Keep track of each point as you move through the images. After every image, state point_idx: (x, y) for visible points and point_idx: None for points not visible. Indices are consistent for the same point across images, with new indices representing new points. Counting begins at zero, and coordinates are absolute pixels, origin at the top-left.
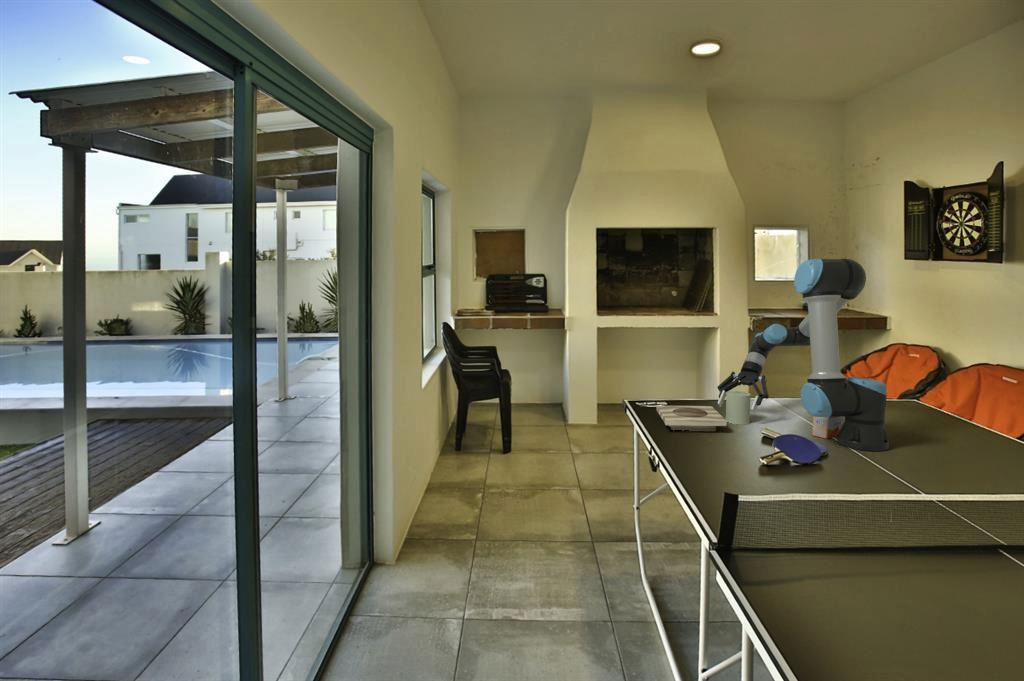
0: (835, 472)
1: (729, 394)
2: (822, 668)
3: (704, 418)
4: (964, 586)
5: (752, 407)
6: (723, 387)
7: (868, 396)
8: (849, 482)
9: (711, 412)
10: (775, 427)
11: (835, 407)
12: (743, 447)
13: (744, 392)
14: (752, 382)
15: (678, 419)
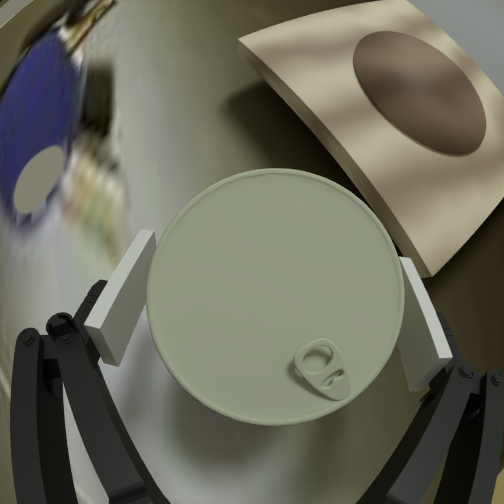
0: (12, 43)
1: (342, 189)
2: None
3: (330, 31)
4: None
5: (142, 239)
6: (466, 388)
7: None
8: (11, 29)
9: (366, 126)
10: (86, 295)
11: None
12: (157, 16)
13: (243, 400)
14: (142, 502)
15: (386, 6)
